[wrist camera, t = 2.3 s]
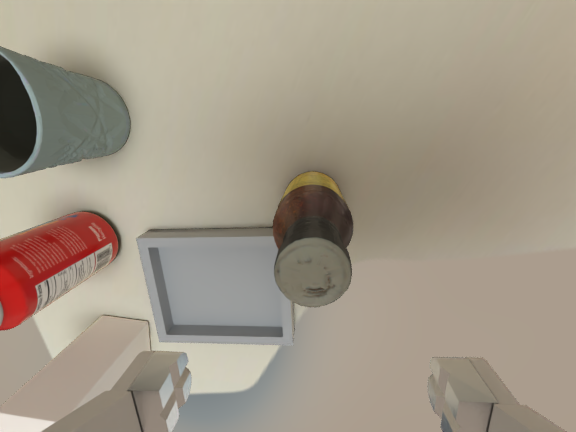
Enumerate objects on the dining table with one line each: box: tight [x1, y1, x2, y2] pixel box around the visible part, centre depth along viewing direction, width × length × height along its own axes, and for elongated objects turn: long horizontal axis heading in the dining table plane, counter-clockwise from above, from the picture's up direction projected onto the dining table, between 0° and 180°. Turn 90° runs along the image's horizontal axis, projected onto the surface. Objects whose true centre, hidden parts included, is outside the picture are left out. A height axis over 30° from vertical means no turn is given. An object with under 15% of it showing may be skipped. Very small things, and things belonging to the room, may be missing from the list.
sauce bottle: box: [273, 171, 353, 307], centre depth 24 cm, size 7×6×20 cm
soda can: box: [0, 212, 118, 331], centre depth 31 cm, size 8×8×15 cm
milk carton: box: [0, 315, 151, 432], centre depth 34 cm, size 7×7×19 cm
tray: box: [136, 227, 295, 345], centre depth 37 cm, size 18×15×3 cm
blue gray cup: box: [0, 46, 130, 178], centre depth 27 cm, size 10×10×12 cm
